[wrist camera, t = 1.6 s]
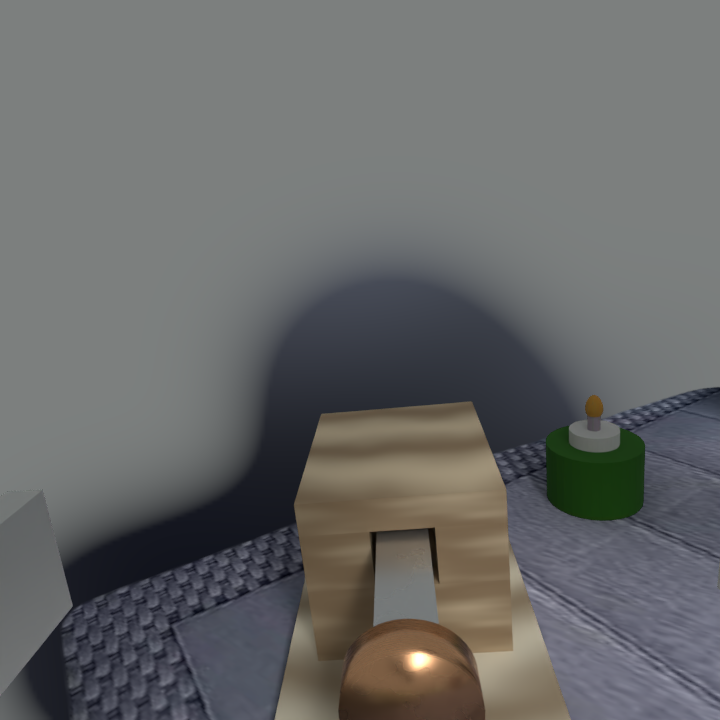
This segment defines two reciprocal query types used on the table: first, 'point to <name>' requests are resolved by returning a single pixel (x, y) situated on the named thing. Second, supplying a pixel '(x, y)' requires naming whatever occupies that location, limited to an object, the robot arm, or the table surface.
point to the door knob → (408, 645)
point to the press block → (447, 545)
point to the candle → (595, 468)
